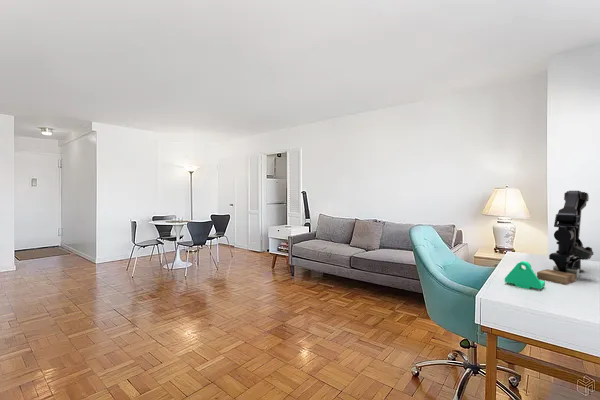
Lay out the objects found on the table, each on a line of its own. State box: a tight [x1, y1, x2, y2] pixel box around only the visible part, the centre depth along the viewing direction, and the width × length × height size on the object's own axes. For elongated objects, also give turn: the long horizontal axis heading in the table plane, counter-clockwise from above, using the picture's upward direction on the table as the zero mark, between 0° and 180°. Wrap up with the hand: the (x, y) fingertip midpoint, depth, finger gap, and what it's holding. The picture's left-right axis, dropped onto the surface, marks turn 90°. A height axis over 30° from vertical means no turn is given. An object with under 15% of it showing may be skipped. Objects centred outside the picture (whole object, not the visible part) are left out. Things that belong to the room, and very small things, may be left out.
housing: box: [552, 264, 580, 280], centre depth 135 cm, size 5×8×4 cm, turn 37°
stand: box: [536, 268, 577, 286], centre depth 130 cm, size 10×10×3 cm
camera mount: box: [504, 260, 546, 290], centre depth 123 cm, size 12×8×10 cm, turn 40°
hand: (566, 274), depth 135 cm, fingers closed on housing, 5 cm apart
